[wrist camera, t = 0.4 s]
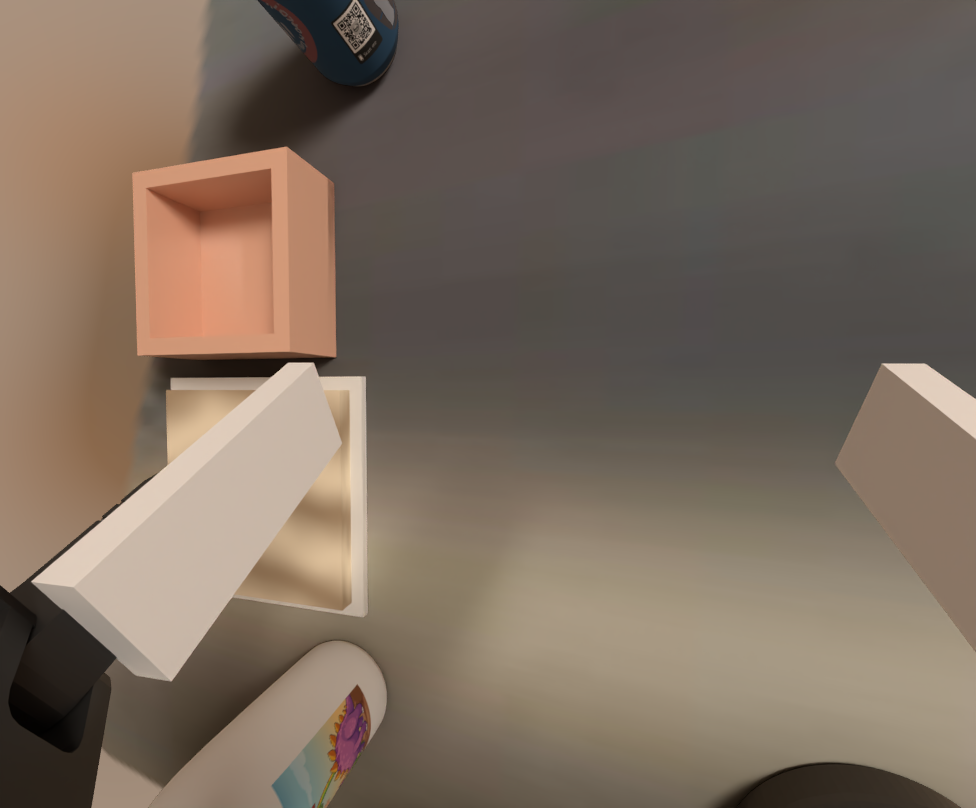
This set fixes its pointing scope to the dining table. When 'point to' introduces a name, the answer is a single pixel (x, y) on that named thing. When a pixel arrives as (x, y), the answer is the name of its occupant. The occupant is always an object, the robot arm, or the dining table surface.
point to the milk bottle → (289, 737)
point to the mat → (356, 475)
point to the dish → (235, 259)
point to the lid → (313, 524)
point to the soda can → (341, 35)
